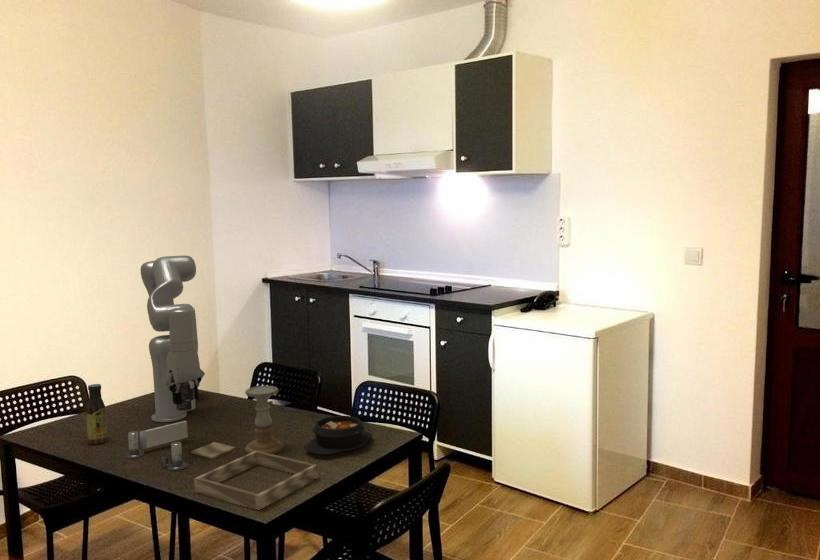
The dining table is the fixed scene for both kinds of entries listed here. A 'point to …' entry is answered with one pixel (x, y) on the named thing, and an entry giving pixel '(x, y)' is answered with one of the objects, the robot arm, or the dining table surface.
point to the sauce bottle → (96, 416)
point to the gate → (163, 434)
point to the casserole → (337, 435)
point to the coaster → (213, 450)
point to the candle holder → (263, 421)
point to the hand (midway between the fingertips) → (185, 400)
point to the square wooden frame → (215, 489)
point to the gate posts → (175, 452)
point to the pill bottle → (187, 396)
